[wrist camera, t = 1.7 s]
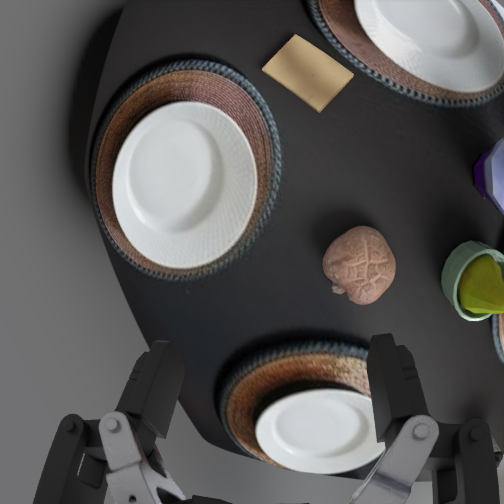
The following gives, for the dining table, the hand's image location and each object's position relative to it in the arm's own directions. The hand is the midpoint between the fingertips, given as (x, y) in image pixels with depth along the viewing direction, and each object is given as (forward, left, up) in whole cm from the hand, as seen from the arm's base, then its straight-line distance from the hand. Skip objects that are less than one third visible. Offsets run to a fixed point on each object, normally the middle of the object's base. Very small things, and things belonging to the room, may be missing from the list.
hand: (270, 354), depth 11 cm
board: (-14, -12, -22) cm, 29 cm away
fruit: (-11, +17, -22) cm, 30 cm away
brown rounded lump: (-2, +6, -22) cm, 23 cm away
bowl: (-11, +17, -22) cm, 30 cm away
